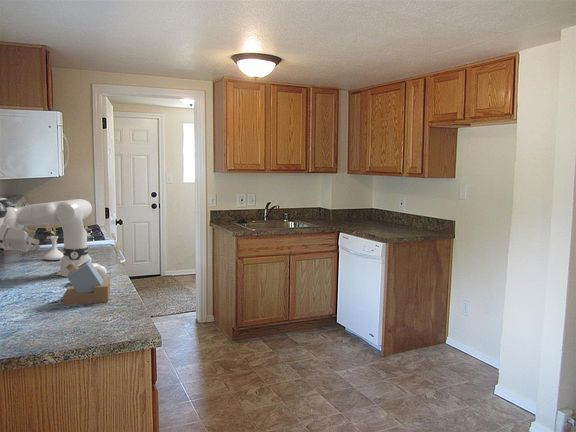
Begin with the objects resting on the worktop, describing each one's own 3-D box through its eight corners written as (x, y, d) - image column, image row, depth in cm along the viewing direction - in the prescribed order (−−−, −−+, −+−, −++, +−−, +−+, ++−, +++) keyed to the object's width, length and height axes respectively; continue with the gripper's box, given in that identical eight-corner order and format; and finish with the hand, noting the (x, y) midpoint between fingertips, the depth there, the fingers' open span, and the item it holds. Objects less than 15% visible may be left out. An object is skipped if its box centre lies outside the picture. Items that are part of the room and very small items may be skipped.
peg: (85, 286, 203) (66, 266, 200) (92, 281, 203) (73, 261, 200) (84, 288, 200) (65, 267, 197) (91, 283, 200) (71, 262, 197)
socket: (68, 295, 206) (67, 259, 204) (110, 293, 211) (109, 258, 209) (63, 304, 193) (62, 266, 191) (107, 302, 198) (107, 264, 196)
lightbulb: (91, 291, 214) (90, 267, 213) (93, 287, 220) (92, 264, 219) (106, 290, 216) (105, 266, 215) (107, 286, 222) (107, 263, 221)
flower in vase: (44, 258, 283) (42, 217, 280) (65, 257, 288) (64, 216, 285) (43, 262, 271) (41, 219, 268) (65, 261, 276) (63, 219, 273)
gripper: (2, 250, 200) (37, 258, 204) (-3, 237, 182) (36, 246, 187) (8, 237, 202) (42, 245, 207) (3, 222, 185) (41, 231, 189)
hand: (39, 245), depth 197 cm, fingers open, 8 cm apart
